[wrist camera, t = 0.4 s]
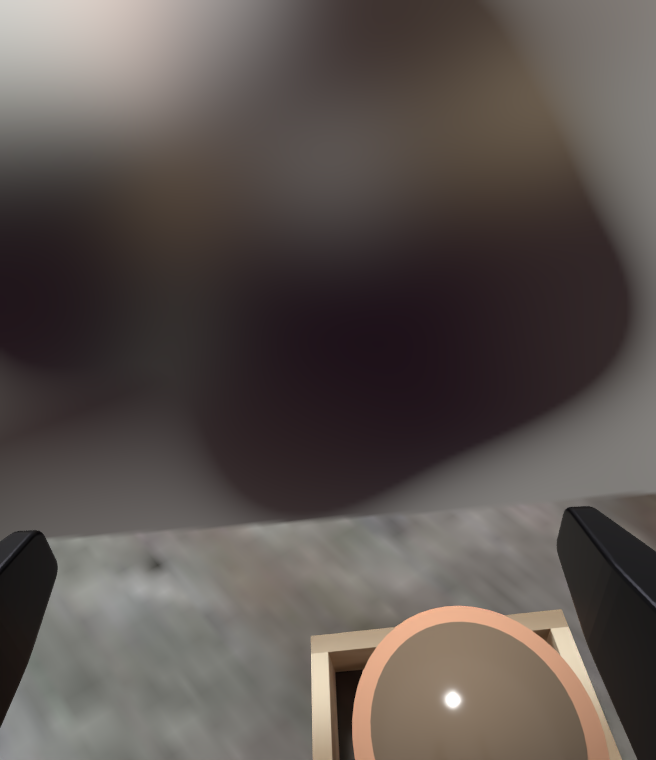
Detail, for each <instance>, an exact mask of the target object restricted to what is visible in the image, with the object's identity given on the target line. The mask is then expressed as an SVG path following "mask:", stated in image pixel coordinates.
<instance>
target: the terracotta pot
mask: <svg viewBox="0 0 656 760" xmlns="http://www.w3.org/2000/svg"><path fill="white" fill-rule="evenodd" d="M352 739H353V747H354V756H355V760H610V759H609V752H608V748H607V743H606V739H605V734H604V731H603V728H602V725H601V722H600V719H599V716H598V714H597V712H596V710H595V707H594V705H593V703H592V701H591V699H590V697H589V695H588V693H587V692H586V690H585V688H584V686H583V685H582V683H581V681H580V680H579V678H578V677H577V676H576V674H575V673H574V671H573V670H572V669H571V667H570V666H569V665H568V664H567V662H566V661H565V660H564V659H563V658H562V657H561V656H560V655H559V653H558V652H557V651H556V650H555V649H554V648H552V647H551V646H550V645H549V644H548V643H547V642H546V641H545V640H544V639H542V638H541V637H540V636H538V635H537V634H536V633H534V632H533V631H532V630H530V629H529V628H527V627H525V626H524V625H522V624H520V623H519V622H517V621H515V620H513V619H511V618H508V617H506V616H504V615H502V614H499V613H496V612H493V611H490V610H486V609H481V608H476V607H467V606H446V607H440V608H435V609H431V610H428V611H425V612H421V613H419V614H417V615H415V616H413V617H411V618H408V619H407V620H405V621H404V622H402V623H401V624H399V625H398V626H396V627H395V628H394V629H393V630H392V631H391V632H390V633H389V634H387V635H386V636H385V638H384V639H383V640H382V641H381V642H380V643H379V645H378V646H377V647H376V649H375V650H374V652H373V653H372V655H371V656H370V658H369V660H368V662H367V664H366V666H365V668H364V670H363V672H362V675H361V678H360V681H359V684H358V687H357V691H356V696H355V700H354V708H353V718H352Z"/></svg>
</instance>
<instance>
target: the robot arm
mask: <svg viewBox="0 0 656 760" xmlns="http://www.w3.org/2000/svg"><path fill="white" fill-rule="evenodd" d="M557 552H558V556H559V559H560V562H561V565H562V569H563V572H564V575H565V578H566V581H567V584H568V587H569V590H570V593H571V597H572V600H573V603H574V606H575V609H576V612H577V615H578V618H579V621H580V625H581V628H582V631H583V634H584V636H585V639H586V642H587V645H588V647H589V650H590V652H591V655H592V657H593V659H594V662H595V664H596V666H597V669H598V671H599V673H600V675H601V678H602V680H603V682H604V684H605V687H606V689H607V691H608V693H609V696H610V698H611V700H612V703H613V705H614V707H615V709H616V712H617V714H618V716H619V718H620V721H621V723H622V725H623V728H624V730H625V732H626V734H627V737H628V739H629V741H630V743H631V746H632V748H633V750H634V753H635V755H636V757H637V759H638V760H656V551H654V550H653V549H652V548H650V547H649V546H647V545H646V544H645V543H643V542H642V541H640V540H639V539H638V538H636V537H635V536H633V535H632V534H631V533H629V532H628V531H626V530H625V529H624V528H622V527H621V526H619V525H618V524H617V523H615V522H614V521H612V520H611V519H610V518H608V517H607V516H605V515H604V514H603V513H601V512H600V511H598V510H597V509H595V508H593V507H590V506H581V507H569V508H567V509H566V510H565V511H564V514H563V518H562V522H561V526H560V530H559V534H558V538H557ZM57 570H58V566H57V561H56V559H55V556H54V554H53V552H52V550H51V548H50V546H49V544H48V542H47V540H46V538H45V536H44V534H43V533H42V532H40V531H37V530H29V531H17V532H14V533H12V534H10V535H9V536H7V537H6V538H4V539H3V540H2V541H0V727H1V725H2V723H3V720H4V718H5V716H6V713H7V711H8V709H9V707H10V704H11V702H12V700H13V697H14V695H15V693H16V690H17V688H18V686H19V684H20V681H21V679H22V676H23V674H24V671H25V669H26V667H27V664H28V661H29V659H30V656H31V653H32V650H33V647H34V644H35V641H36V638H37V635H38V632H39V629H40V626H41V623H42V620H43V616H44V613H45V610H46V607H47V604H48V601H49V598H50V595H51V592H52V589H53V586H54V583H55V579H56V576H57Z"/></svg>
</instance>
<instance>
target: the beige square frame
mask: <svg viewBox="0 0 656 760" xmlns="http://www.w3.org/2000/svg"><path fill="white" fill-rule="evenodd" d="M504 616H506V617H508V618H511V619H513V620H515V621H517V622H519V623H520V624H522V625H524V626H525V627H527V628H529V629H530V630H532V631H533V632H534V633H536V634H537V635H538V636H540V637H541V638H542V639H544V640H545V641H546V642H547V643H548V644H549V645H550V646H551V647H552V648H554V649H555V650H556V651H557V652H558V653H559V655H560V656H561V657H562V658H563V659H564V660H565V661H566V662H567V664H568V665H569V666H570V667H571V669H572V670H573V671H574V673H575V674H576V676H577V677H578V678H579V680H580V681H581V683H582V685H583V686H584V688H585V690H586V692H587V693H588V695H589V697H590V699H591V701H592V703H593V705H594V707H595V710H596V712H597V714H598V716H599V719H600V722H601V725H602V728H603V731H604V734H605V739H606V743H607V748H608V752H609V759H610V760H622V759H621V756H620V754H619V751H618V749H617V746H616V744H615V741H614V739H613V736H612V734H611V731H610V729H609V726H608V724H607V721H606V719H605V716H604V714H603V711H602V709H601V706H600V704H599V701H598V699H597V696H596V694H595V691H594V689H593V687H592V684H591V682H590V679H589V677H588V674H587V672H586V669H585V667H584V664H583V662H582V659H581V657H580V654H579V652H578V649H577V647H576V644H575V642H574V639H573V637H572V634H571V632H570V629H569V627H568V624H567V622H566V619H565V617H564V615H563V612H562V610H561V609H559V610H550V611H541V612H531V613H522V614H513V615H504ZM394 628H395V627H392V628H383V629H373V630H364V631H355V632H345V633H336V634H327V635H317V636H311V674H312V737H313V760H339V740H338V719H337V699H336V679H335V672H343V671H352V670H362V669H364V668H365V666H366V664H367V662H368V660H369V658H370V656H371V655H372V653H373V652H374V650H375V649H376V647H377V646H378V645H379V643H380V642H381V641H382V640H383V639H384V638H385V636H386V635H387V634H389V633H390V632H391V631H392V630H393V629H394Z"/></svg>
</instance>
